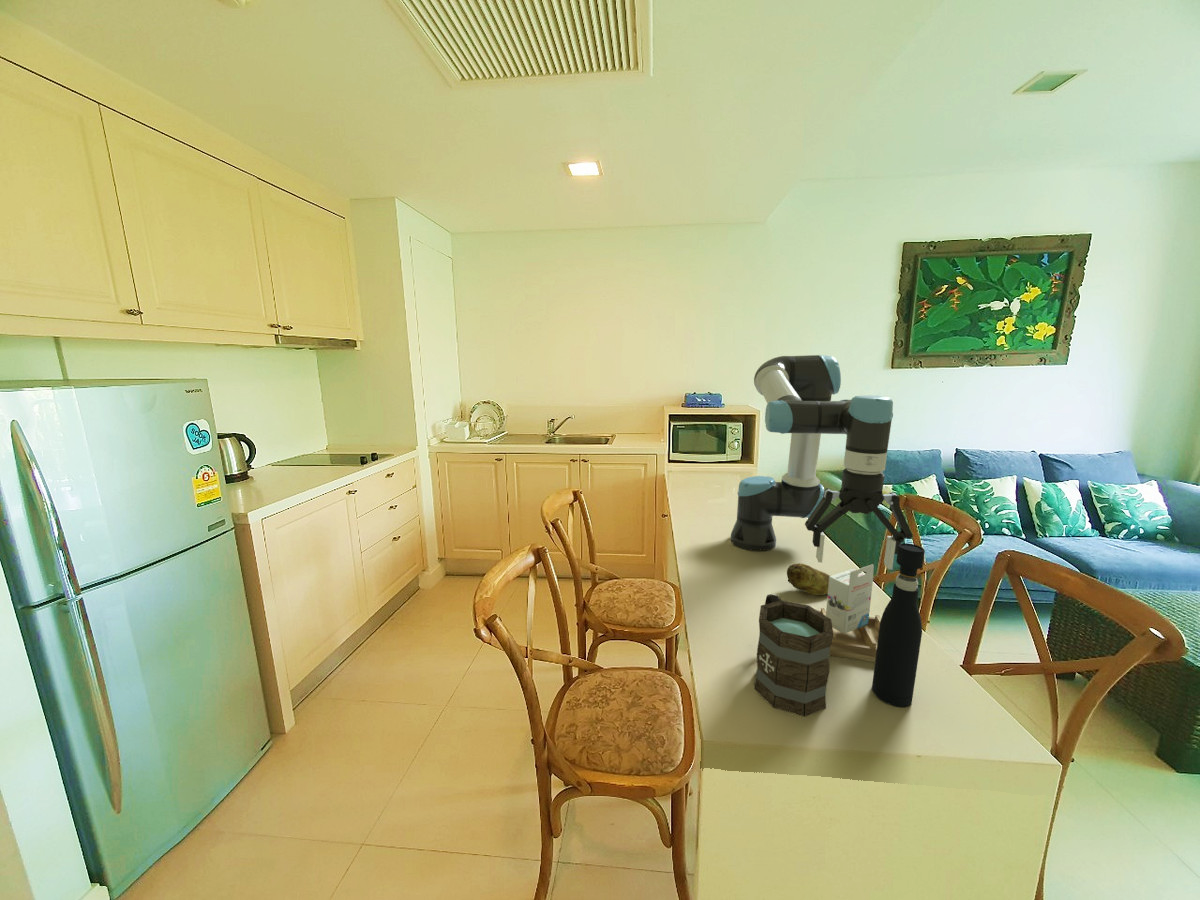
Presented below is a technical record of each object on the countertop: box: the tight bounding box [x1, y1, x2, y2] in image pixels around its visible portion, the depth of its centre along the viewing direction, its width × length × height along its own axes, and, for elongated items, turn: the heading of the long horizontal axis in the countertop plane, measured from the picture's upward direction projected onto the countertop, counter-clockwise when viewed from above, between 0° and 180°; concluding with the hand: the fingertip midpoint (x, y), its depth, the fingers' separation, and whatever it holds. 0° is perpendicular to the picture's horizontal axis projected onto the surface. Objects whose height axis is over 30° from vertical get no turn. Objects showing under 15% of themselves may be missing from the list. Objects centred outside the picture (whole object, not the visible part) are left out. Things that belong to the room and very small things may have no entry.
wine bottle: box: [871, 542, 926, 708], centre depth 80 cm, size 6×6×30 cm
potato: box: [786, 563, 831, 596], centre depth 119 cm, size 8×13×8 cm, turn 75°
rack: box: [816, 607, 882, 663], centre depth 99 cm, size 13×20×4 cm, turn 74°
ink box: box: [825, 563, 875, 634], centre depth 97 cm, size 8×5×15 cm, turn 117°
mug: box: [754, 593, 833, 718], centre depth 86 cm, size 20×14×15 cm
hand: (852, 563), depth 96 cm, fingers open, 13 cm apart
